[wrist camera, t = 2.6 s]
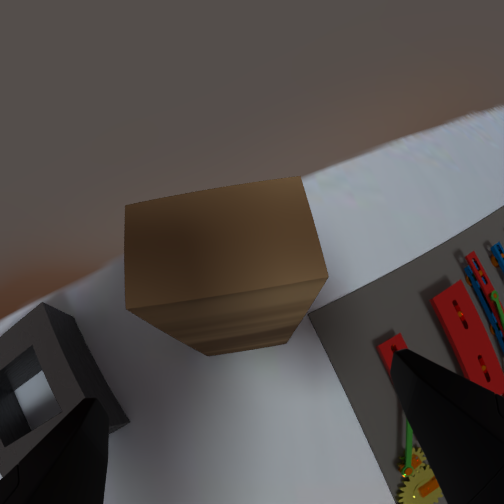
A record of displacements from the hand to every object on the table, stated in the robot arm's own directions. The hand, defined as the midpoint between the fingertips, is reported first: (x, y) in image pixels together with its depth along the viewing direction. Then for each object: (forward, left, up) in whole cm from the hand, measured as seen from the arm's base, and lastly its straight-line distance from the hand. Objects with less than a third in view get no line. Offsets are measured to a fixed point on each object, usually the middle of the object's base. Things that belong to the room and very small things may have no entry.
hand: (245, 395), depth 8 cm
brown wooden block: (+4, 0, -11) cm, 12 cm away
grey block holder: (0, +15, -11) cm, 19 cm away
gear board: (0, -28, -12) cm, 31 cm away
